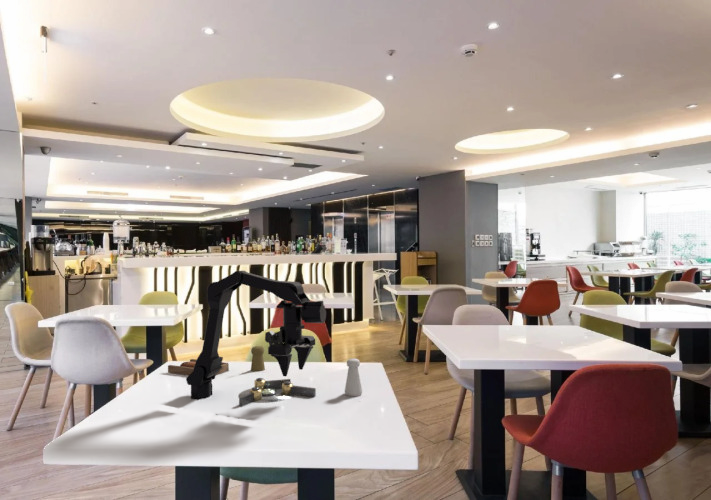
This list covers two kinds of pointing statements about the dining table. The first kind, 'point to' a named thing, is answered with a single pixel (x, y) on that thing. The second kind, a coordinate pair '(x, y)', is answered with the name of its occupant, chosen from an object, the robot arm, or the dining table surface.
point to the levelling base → (262, 396)
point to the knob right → (297, 390)
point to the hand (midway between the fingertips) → (293, 372)
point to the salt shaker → (353, 378)
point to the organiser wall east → (196, 359)
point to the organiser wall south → (223, 368)
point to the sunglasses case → (188, 364)
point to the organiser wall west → (180, 370)
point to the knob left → (269, 383)
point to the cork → (257, 359)
